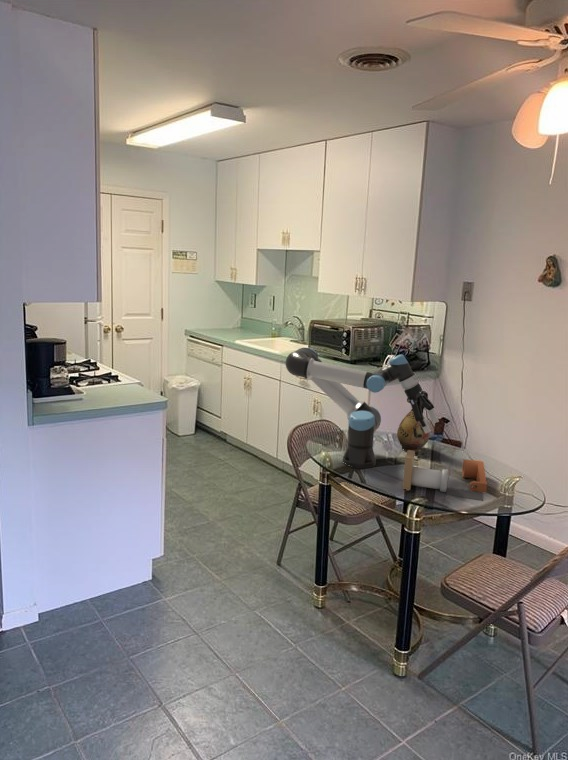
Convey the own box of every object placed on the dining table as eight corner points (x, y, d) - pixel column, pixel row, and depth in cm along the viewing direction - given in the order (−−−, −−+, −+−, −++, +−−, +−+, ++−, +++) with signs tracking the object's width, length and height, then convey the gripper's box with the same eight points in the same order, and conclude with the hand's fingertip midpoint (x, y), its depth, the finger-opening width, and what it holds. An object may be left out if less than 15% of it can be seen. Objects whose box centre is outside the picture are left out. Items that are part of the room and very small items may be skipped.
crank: (461, 473, 258) (463, 456, 257) (480, 475, 257) (482, 458, 255) (465, 490, 239) (467, 472, 238) (485, 493, 238) (487, 474, 236)
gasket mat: (446, 495, 233) (446, 494, 233) (447, 487, 241) (447, 487, 241) (482, 500, 229) (482, 499, 229) (482, 493, 237) (482, 492, 237)
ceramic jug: (411, 456, 277) (416, 396, 271) (389, 447, 290) (394, 389, 284) (436, 451, 286) (442, 392, 280) (414, 442, 299) (419, 386, 292)
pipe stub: (402, 489, 237) (405, 457, 234) (405, 480, 247) (407, 449, 244) (445, 496, 233) (449, 463, 230) (446, 486, 242) (449, 455, 239)
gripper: (409, 391, 252) (432, 434, 253) (426, 376, 273) (446, 415, 273) (395, 397, 256) (417, 439, 257) (412, 382, 277) (432, 421, 277)
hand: (432, 427), depth 265 cm, fingers open, 13 cm apart
